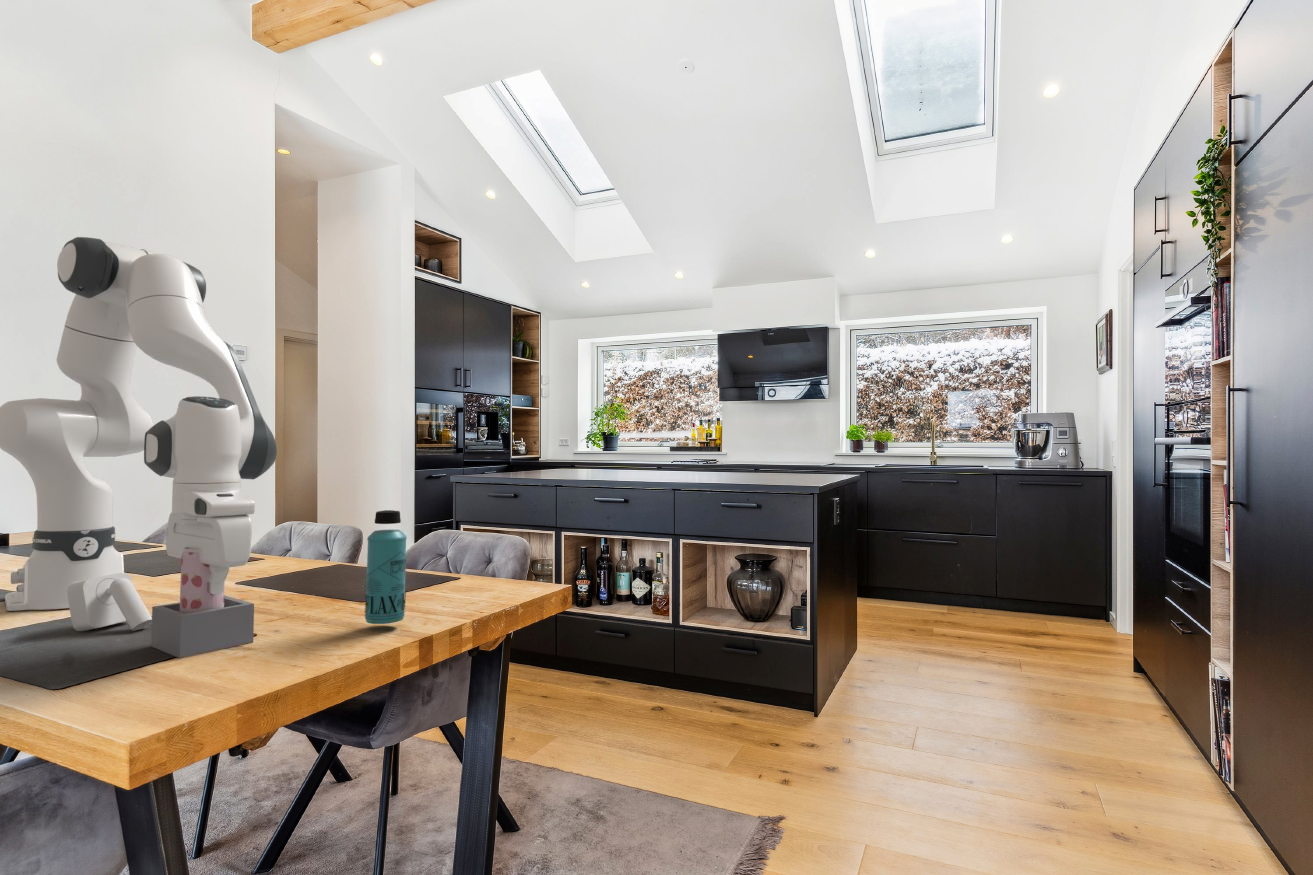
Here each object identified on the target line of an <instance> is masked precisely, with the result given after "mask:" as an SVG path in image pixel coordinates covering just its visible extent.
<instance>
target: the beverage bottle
mask: <svg viewBox="0 0 1313 875" xmlns="http://www.w3.org/2000/svg"><path fill="white" fill-rule="evenodd" d="M374 516H375V518H374V524H378V525H394V524H395V525H396V524H400V523H401V522H402V520H401V512H400V510H393V509H392V510H391V509H388V510H387V509H386V510H385V509H384V510H379V511H376V512H375V515H374ZM407 538H408V537H407V535H406V534H405V533H404V532H403V531H402V530H400V529H389V528H388V529H379V530H378V529H377V530H374V531H373V532H371V534H370V535H368V536H367V552H366V553H367V554H366V555H367V556H366V560H367V562H366V577H365V579H364V580H365V589H364V592H365V593H364V594H365V602H364V618H365V622H366V623H368V624H371V625H387V624H394V623H398V622H400V621H401V622H402V620H403V619H404V618H405V615H406V610H405V608H406V603H407V602H406V598H407V597H406V596H407V594H406V593H407V592H406V587H407V586H406V572H407V571H406V569H407V559H408V558H407V556H406V555H407V553H406V550H407V549H406V548H407Z"/></svg>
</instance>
